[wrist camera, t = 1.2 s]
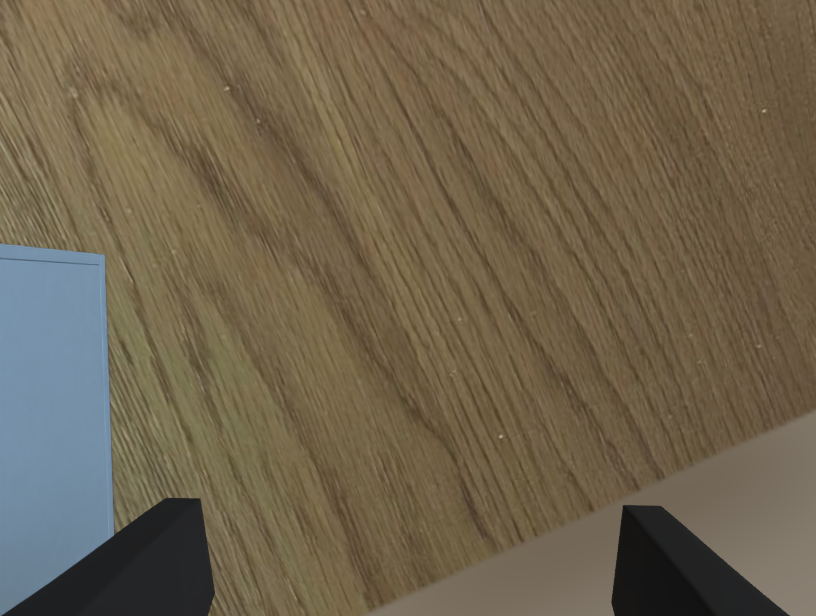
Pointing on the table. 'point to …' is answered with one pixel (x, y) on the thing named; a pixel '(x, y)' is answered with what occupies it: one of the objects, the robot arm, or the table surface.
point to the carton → (52, 416)
